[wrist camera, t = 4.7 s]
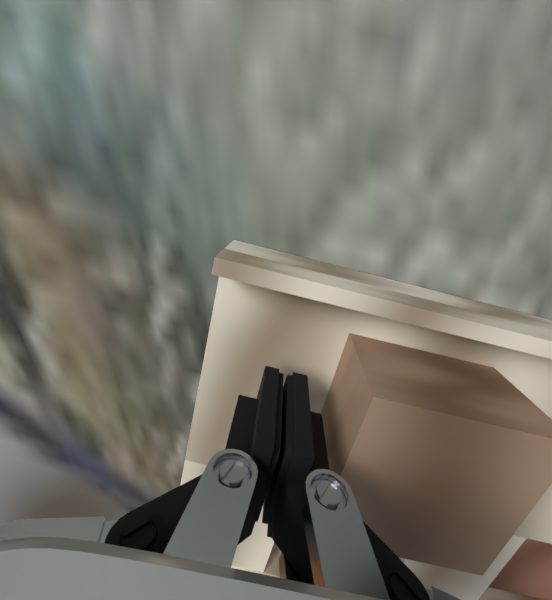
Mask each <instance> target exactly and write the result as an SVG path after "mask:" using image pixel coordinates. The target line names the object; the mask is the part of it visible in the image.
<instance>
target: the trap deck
mask: <svg viewBox="0 0 552 600" xmlns="http://www.w3.org/2000/svg"><path fill="white" fill-rule="evenodd" d="M212 275H215V276H219V280H218V286H217V291H216V297H215V302H214V307H213V313H212V318H211V323H210V329H209V334H208V340H207V345H206V350H205V356H204V361H203V366H202V372H201V377H200V383H199V388H198V393H197V399H196V404H195V410H194V415H193V420H192V426H191V431H190V436H189V442H188V447H187V453H186V458H185V463H184V469H183V474H182V479H181V485H183V484H184V483H186V482H188V481H190V480H192V479H194V478H196V477H198V476H200V475H202V474H203V472H204V470H205V468H206V466H207V464H208V462H209V461H210V459H211V458H212V456H213V455H214V454H216V453H217V452H219V451H221V450H224V449H225V448H226V444H227V440H228V436H229V432H230V428H231V424H232V420H233V416H234V412H235V408H236V404H237V400H238V396H239V395H243V396H247V397H251V398H256V399H257V395H258V391H259V387H260V384H261V380H262V376H263V373H264V369H265V366H270V367H274V368H278V369H279V373H283V374H284V378H283V386H284V383H285V380H286V377H287V375H292V374H293V372H295V373H299V374H304V375H307V377H308V388H309V400H310V411H312V412H316V413H321V411H322V409H323V406H324V403H325V400H326V397H327V394H328V392H329V389H330V386H331V383H332V380H333V377H334V375H335V372H336V369H337V366H338V363H339V360H340V358H341V355H342V352H343V349H344V346H345V343H346V341H347V338H348V335H349V333H351V334H356V335H360V336H364V337H368V338H372V339H377V340H381V341H385V342H389V343H393V344H398V345H402V346H406V347H410V348H414V349H418V350H423V351H427V352H431V353H435V354H439V355H444V356H448V357H452V358H456V359H460V360H464V361H469V362H473V363H477V364H481V365H485V366H490V367H494V368H495V369H496V370H497V371H498V372H499V373H501V374H502V375H503V376H504V377H505V378H506V379H507V380H508V381H509V382H511V383H512V384H513V385H514V386H515V387H516V388H517V389H518V390H519V391H521V392H522V393H523V394H524V395H525V396H526V397H527V398H528V399H529V400H531V401H532V402H533V403H534V404H535V405H536V406H537V407H538V408H540V409H541V410H542V411H543V412H544V413H545V414H546V415H547V416H548V417H550V418H551V419H552V320H549V319H545V318H541V317H537V316H533V315H529V314H525V313H521V312H517V311H513V310H509V309H505V308H501V307H497V306H493V305H489V304H485V303H482V302H478V301H474V300H470V299H466V298H462V297H458V296H454V295H450V294H446V293H442V292H438V291H434V290H430V289H426V288H422V287H418V286H414V285H410V284H406V283H402V282H398V281H395V280H391V279H387V278H383V277H379V276H375V275H371V274H367V273H363V272H359V271H355V270H351V269H347V268H343V267H339V266H335V265H331V264H327V263H323V262H319V261H315V260H311V259H308V258H304V257H300V256H296V255H292V254H288V253H284V252H280V251H276V250H272V249H268V248H264V247H260V246H256V245H252V244H248V243H244V242H240V241H236V240H234V241H232V242H231V243H230V244H229V245H228V246H227V247H226V248H224V249H223V250H222V251H221V252H220V253H219V254H218V255H216V256H215V258H214V264H213V269H212ZM181 485H180V486H181ZM263 505H264V504H263ZM262 516H263V507H262V510H261V513H260V516H259V519H258V522H255V525H254V528H253V531H252V534H251V535H250V536H249V537H248V538H246V539H245V540H244V541H242V542H241V543H240V544H239V545H237V548H236V552H235V555H234V559H233V562H232V566H231V568H235V569H240V570H244V571H249V572H254V573H259V574H264V575H269V576H273V577H278V578H280V572H279V561H278V559H279V551H280V549H279V548H278V546H277V545H276V544H275V542H274V541H273V539H272V538H271V537H267V528H268V524H265V523H262ZM399 559H400V560H401V561H402V562H403V563H404V564H405V565H406V566H407V567H408V568H409V569H410V570H411V571H412V572H413V573H414V574H415V575H416V576H417V578H418V579H419V580H420V581H421V583H422V584H423V586H424V587H425V588H427V589H429V588H430V586H433V587H435V588H437V589H439V590H442V591H444V592H446V593H448V594H450V595H452V596H454V597H456V598H458V599H461V600H552V484H551V485H550V487H549V488H548V489H547V491H546V492H545V493H544V495H543V496H542V497H541V499H540V500H539V501H538V503H537V504H536V505H535V507H534V508H533V509H532V511H531V512H530V513H529V515H528V516H527V517H526V519H525V520H524V521H523V523H522V524H521V525H520V527H519V528H518V529H517V531H516V532H515V533H514V535H513V536H512V537H511V539H510V540H509V541H508V543H507V544H506V545H505V547H504V548H503V549H502V551H501V552H500V553H499V555H498V556H497V557H496V559H495V560H494V561H493V563H492V564H491V565H490V567H489V568H488V569H487V571H486V572H485V573H484V575H483V576H481V575H476V574H472V573H467V572H463V571H458V570H454V569H449V568H445V567H440V566H436V565H431V564H426V563H422V562H417V561H413V560H408V559H404V558H399Z"/></svg>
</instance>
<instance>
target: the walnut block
mask: <svg viewBox="0 0 552 600" xmlns="http://www.w3.org/2000/svg"><path fill="white" fill-rule="evenodd" d="M321 415H322V418H323V426H324V433H325V440H326V448H327V455H328V462H329V470H331V471H333V472H335V473H337V474H338V475H340V476H341V477H342V478H343V479H344V480H345V481H346V482H347V483H348V484H349V486H350V488H351V490H352V492H353V494H354V497H355V500H356V503H357V506H358V509H359V511H360V514H361V517H362V520H363V521H364V522H365V523H366V524H367V525H368V526H369V527H370V528H371V530H372V531H373V532H374V533H375V534H376V535H377V536H378V537H379V538H380V539H381V540H382V541H383V542H384V543H385V544H386V545H387V546H388V547H389V548H390V549H391V550H392V551H393V552H394V553H395V554H396V555H397V556H398V557H399V558H404V559H408V560H413V561H417V562H422V563H426V564H431V565H436V566H440V567H445V568H449V569H454V570H458V571H463V572H467V573H472V574H476V575H481V576H483V575H484V573H485V572H486V571H487V569H488V568H489V567H490V565H491V564H492V563H493V561H494V560H495V559H496V557H497V556H498V555H499V553H500V552H501V551H502V549H503V548H504V547H505V545H506V544H507V543H508V541H509V540H510V539H511V537H512V536H513V535H514V533H515V532H516V531H517V529H518V528H519V527H520V525H521V524H522V523H523V521H524V520H525V519H526V517H527V516H528V515H529V513H530V512H531V511H532V509H533V508H534V507H535V505H536V504H537V503H538V501H539V500H540V499H541V497H542V496H543V495H544V493H545V492H546V491H547V489H548V488H549V487H550V485H551V484H552V419H551V418H550V417H548V416H547V415H546V414H545V413H544V412H543V411H542V410H541V409H540V408H538V407H537V406H536V405H535V404H534V403H533V402H532V401H531V400H529V399H528V398H527V397H526V396H525V395H524V394H523V393H522V392H521V391H519V390H518V389H517V388H516V387H515V386H514V385H513V384H512V383H511V382H509V381H508V380H507V379H506V378H505V377H504V376H503V375H502V374H501V373H499V372H498V371H497V370H496V369H495V368H494V367H490V366H485V365H481V364H477V363H473V362H469V361H464V360H460V359H456V358H452V357H448V356H444V355H439V354H435V353H431V352H427V351H423V350H418V349H414V348H410V347H406V346H402V345H398V344H393V343H389V342H385V341H381V340H377V339H372V338H368V337H364V336H360V335H356V334H351V333H349V335H348V338H347V341H346V343H345V346H344V349H343V352H342V355H341V358H340V360H339V363H338V366H337V369H336V372H335V375H334V377H333V380H332V383H331V386H330V389H329V392H328V394H327V397H326V400H325V403H324V406H323V409H322V411H321Z"/></svg>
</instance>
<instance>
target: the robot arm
mask: <svg viewBox="0 0 552 600" xmlns="http://www.w3.org/2000/svg"><path fill="white" fill-rule="evenodd" d="M283 378H284V374H283V373H279V369H278V368H274V367H270V366H265V369H264V373H263V376H262V380H261V384H260V387H259V391H258V395H257V399H256V398H251V397H247V396H243V395H239V396H238V400H237V404H236V408H235V412H234V416H233V420H232V424H231V428H230V432H229V436H228V440H227V444H226V448H225V449H224V450H221V451H219V452H217V453H216V454H214V455H213V456H212V458H211V459H210V461H209V462H208V464H207V466H206V468H205V470H204V472H203V474H202V475H200V476H198V477H196V478H194V479H192V480H190V481H188V482H186V483H184V484H183V485H181V486H179V487H177V488H175V489H173V490H171V491H169V492H167V493H165V494H163V495H162V496H160V497H158V498H156V499H154V500H152V501H150V502H148V503H146V504H144V505H142V506H141V507H139V508H137V509H135V510H133V511H131V512H129V513H127V514H126V515H124V516H123V517H121V518H120V519H119V520H118V521H105V517H76V518H46V519H22V520H17V521H11V522H9V523H7V524H4V525H2V526H0V600H461V599H458V598H456V597H454V596H452V595H450V594H448V593H446V592H444V591H442V590H439V589H437V588H435V587H433V586H430V588H429V589H427V588H425V587H424V586H423V584H422V583H421V581H420V580H419V579H418V578H417V576H416V575H415V574H414V573H413V572H412V571H411V570H410V569H409V568H408V567H407V566H406V565H405V564H404V563H403V562H402V561H401V560H400V559H399V557H398V556H397V555H396V554H395V553H394V552H393V551H392V550H391V549H390V548H389V547H388V546H387V545H386V544H385V543H384V542H383V541H382V540H381V539H380V538H379V537H378V536H377V535H376V534H375V533H374V532H373V531H372V530H371V528H370V527H369V526H368V525H367V524H366V523H365V522H364V521H363V520H362V517H361V514H360V511H359V509H358V506H357V503H356V500H355V497H354V494H353V492H352V490H351V488H350V486H349V484H348V483H347V482H346V481H345V480H344V479H343V478H342V477H341V476H340V475H338V474H337V473H335V472H333V471H331V470H329V462H328V455H327V448H326V440H325V433H324V426H323V418H322V415H321V413H316V412H312V411H310V400H309V388H308V377H307V375H304V374H299V373H295V372H293V374H292V375H287V377H286V380H285V383H284V386H283ZM263 504H264V505H263ZM262 507H263V516H262V523H265V524H268V528H267V537H271V538H272V539H273V541H274V542H275V544H276V545H277V546H278V548H279V549H280V551H279V559H278V561H279V572H280V578H278V577H273V576H269V575H264V574H259V573H254V572H249V571H244V570H240V569H235V568H231V566H232V562H233V559H234V555H235V552H236V548H237V545H239V544H240V543H241V542H242V541H244V540H245V539H246V538H248V537H249V536H250V535H251V534H252V531H253V528H254V525H255V522H258V519H259V516H260V513H261V510H262Z"/></svg>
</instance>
